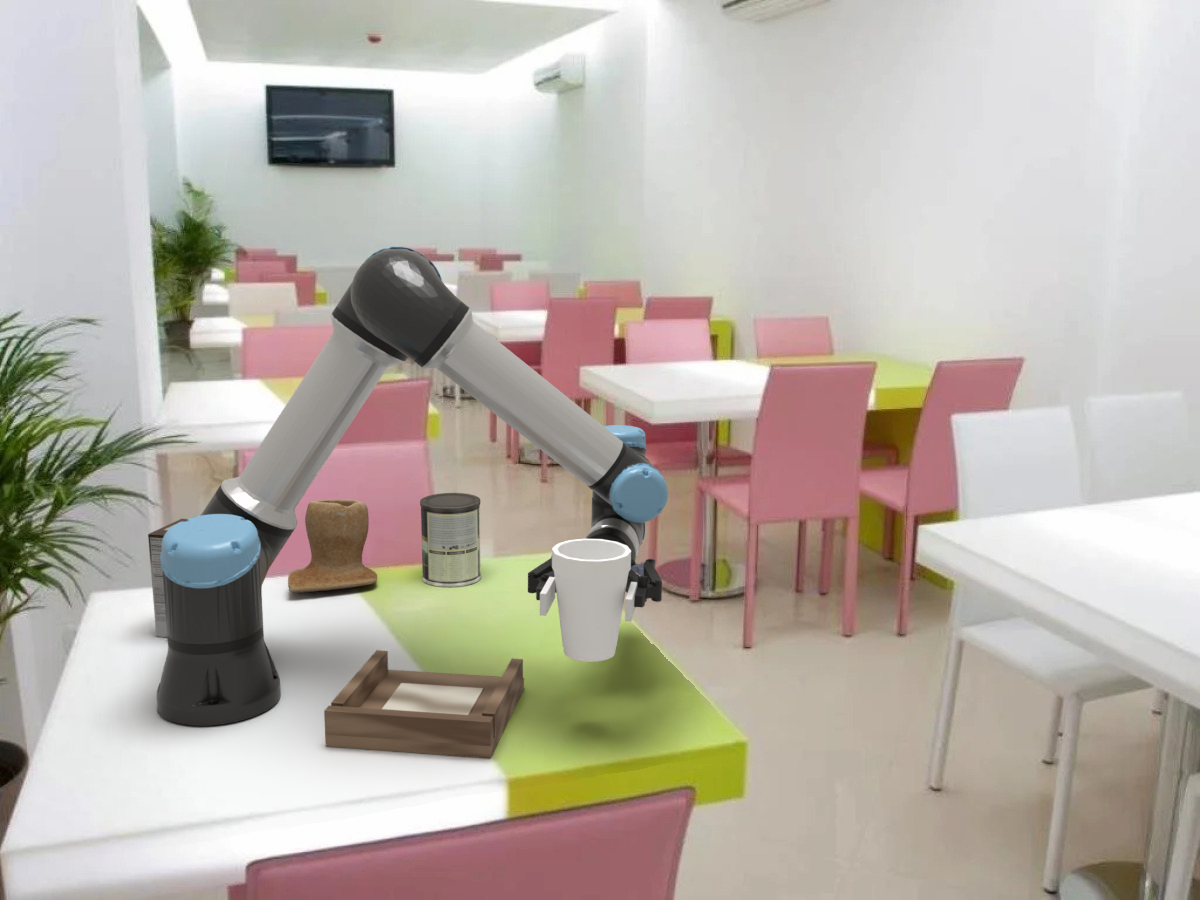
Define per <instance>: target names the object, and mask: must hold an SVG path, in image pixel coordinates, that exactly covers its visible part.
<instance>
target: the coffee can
mask: <svg viewBox="0 0 1200 900" xmlns="http://www.w3.org/2000/svg"><path fill="white" fill-rule="evenodd" d="M480 505H481V498H480V497H479V496H476V495H475V494H470V493H463V492H444V493H436V494H435V493H434V494H431V495H427V496H425V497H423V498H421V499H420V500H419V506H420V523H421V524H420V525H421V526H420V527H421V528H420V529H421V557H422V558H421V560H422V561H421V562H422V564H421V565H422V568H421V569H422V577H421V579H422V582H424V583H425V584H427V585H429V586H433V587H438V588H460V587H465V586H470V585H473V584H475V583H478V582H479V581H480V580H481V579H482V574H481V573H482V572H481V514H480V513H481V508H480Z"/></svg>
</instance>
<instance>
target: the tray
mask: <svg viewBox="0 0 1200 900" xmlns="http://www.w3.org/2000/svg"><path fill="white" fill-rule="evenodd" d="M388 656H389V655H388V650H380V649H376V650H375V651H374V653H373V654H372V655H371V656H370V657H369V658H368V660H366V662H365V663H364V664H363V665H362V667H361V668H360V669H359V670H358V671H357V672H356V673H355V675H353V677H352V678H351V679H350V680H349V682H348V683H347V684H346V685H345V686H344V687H343V689H342V690H341V691H340V692H339V693H338V694H337V695H336V697H335V698H334V699H332V701H331V702H330V705H328V706H327V707H326V708H325V709H324V711H323V715H324V716H323V717H324V719H323V720H324V739H325V741H324V742H325V747H332V748H343V749H345V748H346V749H360V750H373V751H389V752H399V753H401V752H402V753H413V754H414V753H415V754H430V755H439V756H455V757H457V756H458V757H468V758H469V757H470V758H480V759H481V758H483V759H491V758H492V756H493V754H494V752H495V750H496V748H497V746H498V743H499V742H500V740H501V737H502V736H503V734H504V731H505V729H506V727H507V726H508V723H509V721H510V719H511V717H512V715H513V713H514V710H515V708H516V707H517V704H518V702H519V700H520V698H521V696H522V693H523V692H524V690H525V677H524V659H523V658H511V659H510V660H509V662H508V665H507V666H506V668H505V671H504V672H503V674H502V676H496V675H478V674H465V673H464V674H463V673H451V672H450V673H448V672H434V671H433V672H432V671H417V670H401V669H400V670H399V669H389V661H388V660H389V659H388V658H389V657H388Z"/></svg>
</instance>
